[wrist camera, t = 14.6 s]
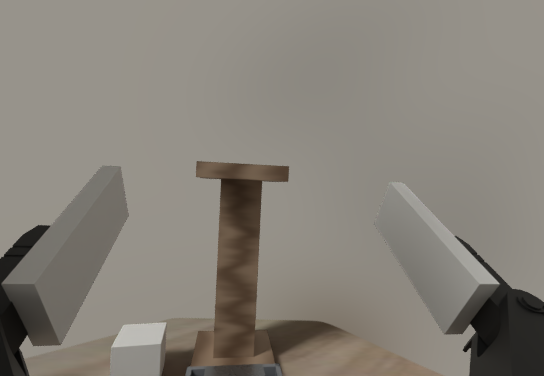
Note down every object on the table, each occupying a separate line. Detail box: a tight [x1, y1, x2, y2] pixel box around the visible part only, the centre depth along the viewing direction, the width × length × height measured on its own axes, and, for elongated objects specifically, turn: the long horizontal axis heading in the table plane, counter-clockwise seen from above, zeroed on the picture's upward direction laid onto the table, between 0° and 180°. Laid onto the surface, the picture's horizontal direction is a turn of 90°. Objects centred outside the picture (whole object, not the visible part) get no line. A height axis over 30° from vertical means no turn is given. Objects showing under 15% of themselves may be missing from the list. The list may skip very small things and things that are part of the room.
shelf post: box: [190, 161, 289, 367], centre depth 45 cm, size 12×13×30 cm
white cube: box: [110, 322, 167, 376], centre depth 41 cm, size 6×6×6 cm
